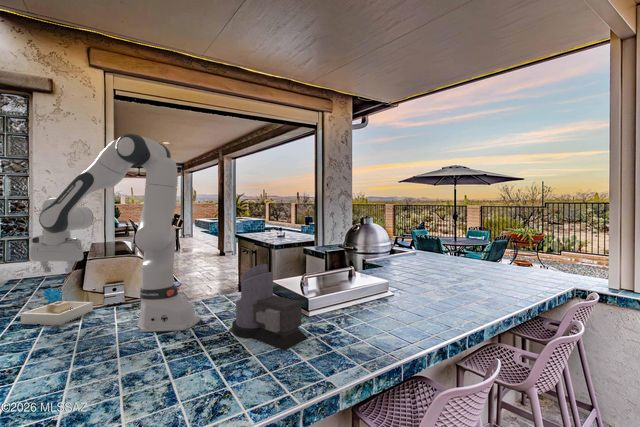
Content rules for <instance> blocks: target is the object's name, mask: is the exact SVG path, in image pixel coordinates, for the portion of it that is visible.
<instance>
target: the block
mask: <svg viewBox="0 0 640 427" xmlns="http://www.w3.org/2000/svg"><path fill="white" fill-rule="evenodd" d="M46 305H47V304H46ZM68 310H70V303H69V302H68V301H67V300H66V301H57V302H55V301H53V302H52V303H50V304H48V305H47V314H60V313H63V312H65V311H68Z"/></svg>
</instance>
